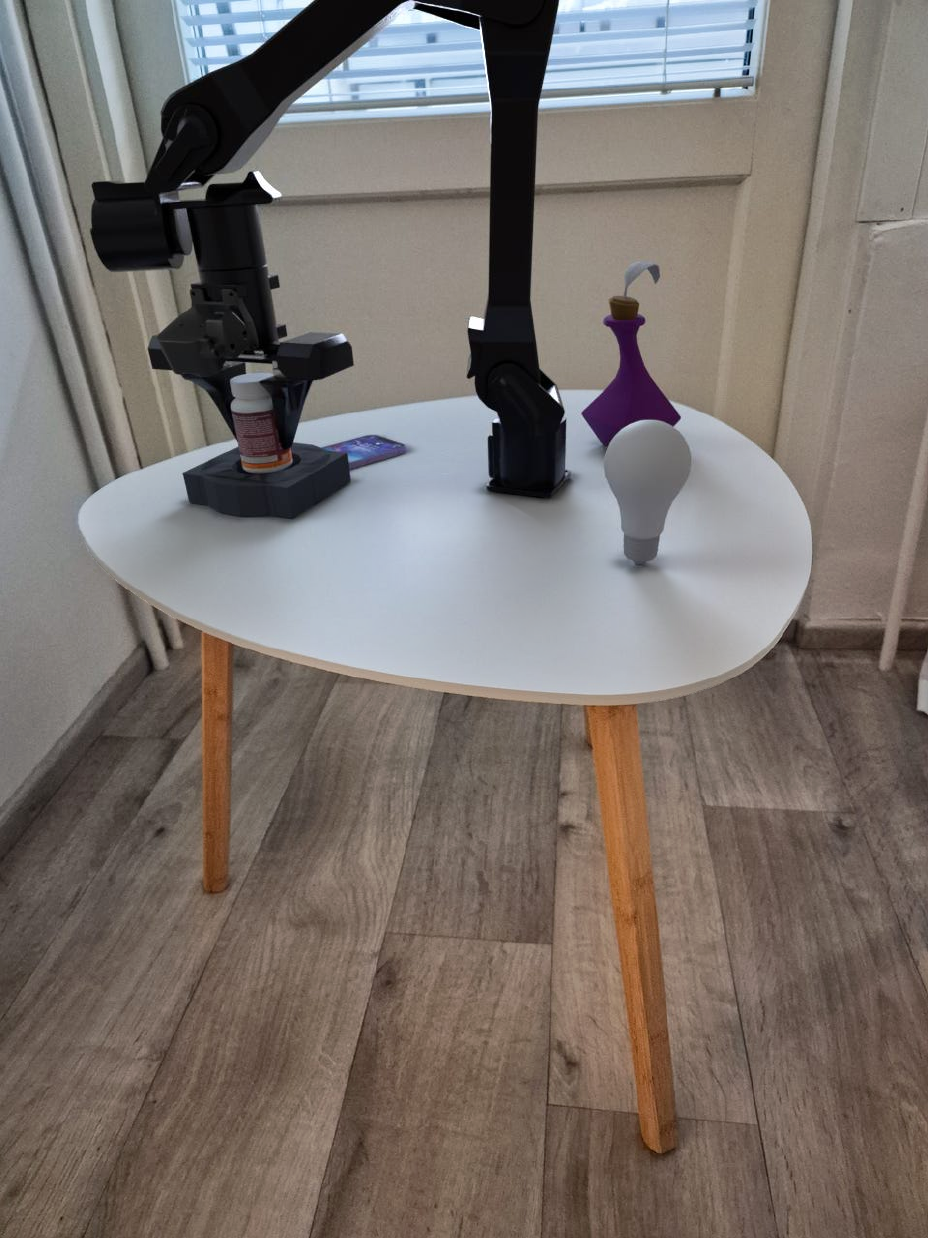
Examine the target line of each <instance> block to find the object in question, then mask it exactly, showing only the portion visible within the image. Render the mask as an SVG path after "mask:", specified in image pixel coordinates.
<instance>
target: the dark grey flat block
mask: <svg viewBox="0 0 928 1238" xmlns="http://www.w3.org/2000/svg"><path fill="white" fill-rule="evenodd" d="M291 454H292V464H291V465H290V466H289V467H288V468H286V469H284V470H282V471H278V472H274V473H265V474H255V473H249V472H247V471H245V470H244V469H243V466H242V462H241V457H240V452H239V447H238V446H236V447H234V448H231V449H230V450H228V451H225V452H223V453H220V454H219V455H216V456H215V457H212V458H210V459H208V460H207V461H204V462H203V463H201V464H198V465H196V466H194V467H192V468H190V469H188V470H186V471H184V472H183V473H182V477H183V481H184V485H185V490H186V495H187V498H188V503H190V504H197V505H202V506H207V507H209V508H211V509H212V510H214V511H216V512H218V513H220V514H223V515H229V516H235V517H243V518H245V517H270V516H271V517H277V518H284V519H290V520H293V519H295V518H296V517H299V515H301V514H302V513H304V512H305V511H307V510H309V509H310V508H312V507H313V506H315V505H318V504H319V503H321V502H322V501H324V500H325V499H327V498H328V497H330V496H331V495H333V493H335V492H337V491H338V490H339V489H341V488H343V487H344V486H346V485H348V484H349V483H351V481H352V479H351V471H350V470H351V469H349V462H348V453H346V452H337V451H329V450H326V449H323V448H322V446H318V445H315V444H311V443H304V442H303V443H302V442H294V441H293V445H292V447H291Z"/></svg>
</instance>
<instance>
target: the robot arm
mask: <svg viewBox="0 0 928 1238" xmlns="http://www.w3.org/2000/svg"><path fill="white" fill-rule="evenodd" d="M559 7H560V0H312V1H311V3H309V4H308V5H307V6H306V7H305V8H303V9H302V10H300V12H299V13H298V14H296V15H295V16H294V17H293V18H292V19H290V20H289V21H288V22H287V23H285V24H284V25H282V27H281V28H280V29H278V31H276V32H275V33H274V34H273V35H271V37H270V38H268V39H267V40H266V41H265V42H263V43H262V44H261V45H259V47H257V48H256V49H255V50H254V51H253V52H252V53H250V54H248V55H246V56H245V57H243V58H241V59H239V60H237V61H234V62H232V63H230V64H227V65H224V66H222V67H220V68H217V69H215V70H213V71H210V72H208V73H206V74H204V75H202V76H200V77H199V78H196V79H194V80H193V81H191V82H189V83H188V84H186V85H184V86H182V87H180V88H178V89H176V90H175V91H173V92H172V93H171V94H170V95H168V97H167V98H166V99H165V101H164V102H163V104H162V107H161V110H160V131H161V137H162V139H161V141H160V144H159V146H158V148H157V151H156V154H155V156H154V159H153V161H152V163H151V165H150V168H149V170H148V173H147V175H146V177H145V180H144V181H134V182H133V181H132V182H124V181H119V180H102V181H101V180H100V181H99V180H98V181H93V182H92V183H91V189H92V194H93V198H94V199H93V202H92V204H91V209H90V224H91V227H90V229H89V233H90V237H91V241H92V245H93V248H94V250H95V253H96V255H97V258H98V259H99V260H100V262H101V264H102V265H103V266H104V268H105V269H106V270H108V271H109V272H111V273H128V272H148V271H168V270H169V271H171V270H180V269H181V267H182V266H183V264H184V261H185V257H186V256H190V255H191V254H192V253H193V251H194V256H195V261H196V266H197V271H198V276H199V281H198V282H195V283H190V290H189V296H190V301H191V304H190V305H191V307H190V308H188V310H185V311H184V312H182V313H180V314H179V315H178V316H176V317H175V318H174V319H173V320H172V321H171V322H170V323H169V324H168V325H167V326H165V328H163V329H162V330H161V331H160V332H159V333H157V334H154V335H152V336H151V338H150V340H149V343H148V346H147V353H148V357H149V362H150V366H151V369H152V370H159V371H172V372H173V373H174V374H175V375H179V376H181V378H182V379H183V380H185V381H189V382H192V383H193V384H195V385H197V386H198V387H200V388H201V389H202V390H204V391H205V392H206V393H207V395H208V396H209V398H210V399H211V400H212V402H213V403H214V405H215V407H216V408H217V410H218V411H219V413H220V415H221V416H222V418H223V420H224V422H225V423H226V425H227V427H228V429H229V430H230V432H231V434H232V435H233V437H234V439H235V441H236V442H237V436H236V431H235V426H234V421H233V417H232V411H231V403H232V401H233V400H234V399H235V398H236V397H234V396H233V395H232V390H231V384H230V380H231V379H232V378H234V377H236V376H240V375H244V374H247V366H246V363H249V364H265V365H267V364H268V365H272V369H271V370H272V374H273V376H271V377H268V378H266V379H263V380H261V381H259V383H260V384H261V385H262V386H263V387H264V388H265V390H266V391H267V392H268V393H269V394H270V396H271V399H272V404H273V410H274V415H275V421H276V426H277V432H278V436H279V440H280V443H281V447H282V449H285V450H287V449H289V448H291V447H292V445H293V442H294V440H295V437H296V435H297V431H298V427H299V424H300V421H301V416H302V412H303V409H304V406H305V404H306V403H305V402H306V400H307V397H308V395H309V393H310V390H311V388H312V385H313V382H314V381H321V380H324V379H326V378H328V377H331V376H333V375H335V374H337V373H340V372H342V371H344V370H347V369H349V368H351V367H354V366H355V364H354V362H355V361H354V354H353V346H352V344H351V342H350V341H349V340H348V338H347V337H346V336H345V334H344V333H337V332H315V331H314V332H313V331H312V332H311V331H310V332H307V333H304V334H301V335H298V336H296V337H293V338H290V339H287V340H284V341H280V340H281V339H284V338H286V337H288V330H287V324H285V323H283V324H281V323H277V319H276V318H277V317H276V312H275V305H274V299H273V293H272V291H273V290H276V289H279V288H281V285H280V278H279V275H278V274H269V268H268V262H267V256H266V248H265V242H264V236H263V231H262V225H261V224H262V223H261V218H260V212H259V207H258V205H259V206H261V205H271V204H275V203H279V202H281V201H282V197H283V196H282V194H281V192H280V191H278V190H277V189H275V188H274V187H273V186H272V185H271V184H269V183H268V181H267V180H265V179H264V177H263V176H262V174H261V172H260V171H258V170H251V171H248V172H247V175H246V177H245V178H244V179H243V181H240V182H221V183H210V181H211V180H212V179H213V178H214V177H215V176H217V175H218V176H219V175H227V174H232V173H236V172H238V171H240V170H242V169H243V168H244V167H245V166H246V165H247V164H248V163H249V161H250V160H251V159H252V158H253V156H254V155H255V154H256V153H257V151H258V150H259V149H260V148H261V147H262V145H263V144H264V143H265V142H266V141H267V140H268V138H269V137H270V135H271V134H272V132H273V131H274V129H275V128H276V126H277V125H278V123H279V121H280V120H281V118H282V117H283V116H284V114H286V112H287V111H288V110H289V108H290V107H291V106H292V105H293V104H294V103H295V102H296V101H298V99H300V98H301V97H302V96H304V95H305V94H306V93H307V92H308V91H310V90H311V89H312V88H313V87H314V86H316V85H317V84H318V83H320V82H321V81H322V80H323V79H324V78H326V77H327V76H328V75H329V74H330V73H332V72H333V71H334V70H335V69H336V68H338V67H339V66H341V64H343V63H344V62H346V60H348V59H349V58H351V56H352V55H354V54H355V53H356V52H358V51H359V50H360V49H361V48H362V47H363V46H365V45H366V44H368V42H370V41H371V40H372V39H373V38H375V36H377V35H378V34H379V33H380V32H382V31H384V30H385V28H387V27H388V26H389V25H390V24H391V23H393V22H394V21H395V20H397V19H398V18H399V17H401V16H402V15H403V14H404V13H406V12H407V11H409V10H413V11H416V12H420V13H423V14H427V15H430V16H431V17H432V16H433V17H435V18H438V19H440V20H443V21H447V22H450V23H452V24H455V25H457V26H458V25H459V26H461V27H464V28H468V29H471V30H475V31H479V32H480V37H481V44H482V45H481V46H482V53H483V61H484V68H485V77H486V83H487V90H488V97H489V103H490V158H489V159H490V160H489V161H490V162H489V164H490V165H489V222H488V223H489V225H488V227H489V229H488V232H489V233H488V290H487V291H488V292H487V298H486V302H485V308H484V313H483V318H481V317H476V316H469V317H468V320H467V330H466V331H467V338H468V344H469V350H470V353H469V355H468V358H467V367H466V378H467V379H468V380H470V379H472V378H474V389H475V394H476V395H477V398H478V399H479V400H480V401H481V403H482V404H483V405H485V406H486V408H488V409H490V410H491V411H493V412H495V413H496V414H497V417H496V418H495V419H493V420H492V421H491V433H490V434H489V435H488V436H487V467H488V468H487V469H488V472H487V473H488V476H489V478H490V481H488V482H487V483H486V484H485V487H486V488H485V489H486V490H487V491H493V492H498V493H499V492H500V493H508V494H515V495H522V496H532V497H539V498H551V497H553V495H555V494H556V492H557V491H558V490H559V489H560V488H561V487H562V486H563V485H564V484H565V483H566V482H567V480H568V479H570V477H572V470H570V469H566V458H567V457H566V455H567V454H566V453H567V452H566V451H567V417H565V415H566V410H565V407H564V404H563V400H562V396H561V394H560V390H559V387H558V385H557V384H556V383H555V382H554V381H553V380H552V379H551V378H550V377H549V376H548V375H547V374H546V373H545V372H544V371H543V370H542V369H541V368H540V362H539V353H538V344H537V337H536V331H535V323H534V315H533V309H532V301H531V297H532V296H531V295H532V292H531V291H532V270H533V269H532V268H533V244H534V221H535V220H534V219H535V195H536V170H537V148H538V147H537V145H538V123H539V122H538V121H539V120H538V119H539V106H540V100H541V96H542V92H543V91H542V90H543V86H544V81H545V76H546V72H547V67H548V63H549V57H550V53H551V48H552V43H553V38H554V32H555V27H556V21H557V17H558V11H559ZM208 183H210V184H209V185H208V186H207V188H206V191H205V197H204V198H199V199H197V198H196V199H181V198H180V194H179V191H187V190H188V191H189V190H195V189H196V190H197V189H203V188H204V187H205V186H206V185H207V184H208ZM180 199H181V200H180Z"/></svg>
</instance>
